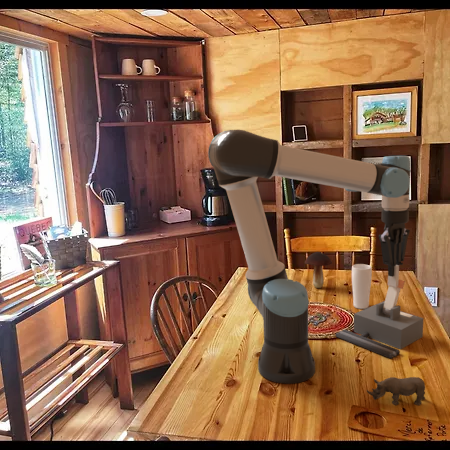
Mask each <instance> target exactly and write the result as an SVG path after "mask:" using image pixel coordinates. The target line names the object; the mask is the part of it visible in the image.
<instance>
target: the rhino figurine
mask: <svg viewBox="0 0 450 450" xmlns="http://www.w3.org/2000/svg"><path fill="white" fill-rule="evenodd" d="M373 381H374V383H375V384H376V388H372V391H370V390H368V389H366V392H367V394H368V395H370V396H371V397H372V398H373V400H377V399H380V398H382V397H384V396H385V394H386V393H390V394H392V396H391V399H393V400H392V402H391V403H392V405H393V406H398V405H399V404H400V402H399V398H400V395H401V396H404V397H410V396H412V395H414V394H416V398H415V400H414V401H413V404H414V405H416V406H420V405H421V406H422V401H423V400H426V397H425V395H426V392H425V391H426V382H425V381H424V380H423V379H422V378H421V377H417V376H416V377H415V376H413V377H412V376H410V377H405V378H397V377H394V376H390V377H388V378H387V377H386V379H383V380H382V381H378V380H377V379H373Z"/></svg>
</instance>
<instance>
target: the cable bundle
mask: <svg viewBox="0 0 450 450" xmlns="http://www.w3.org/2000/svg"><path fill="white" fill-rule="evenodd" d="M369 336H370V335H369V333H365V334H363V335H361V334H358V333H356V332H354V331H350V330H347V329H342V330H340V331H338V332H336V333H335V337H336V338H339V339H341V340H343V341H345V342H349V343H351V344H354V345H356V346H358V347H362V348H363V349H365V350H368V351H371V352H373V353H375V354H379V355H381V356H383V357H386V358H387V359H393V358H394V357H396V356H398V355H400V353H401V351H400V349H398V348H396V347H393V346H390V345H388V344H385V343H382V342H380V341H377V340H374V339H372V338H369Z"/></svg>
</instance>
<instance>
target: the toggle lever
mask: <svg viewBox="0 0 450 450" xmlns="http://www.w3.org/2000/svg"><path fill="white" fill-rule="evenodd" d="M405 282H406V281H405V280H402V279H399V282H398V287H393V286H389V285H388V282H387V283H386V285H387V286H388V289H387V292H386V295H385V299H384V301H385V302H384V306H383V309H382V313H384V314H387V315H390V312H391V308H393V307H395V306H397V304H398V299H399V296H400V292H401V289H402V290H403V289H404V286H405Z"/></svg>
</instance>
